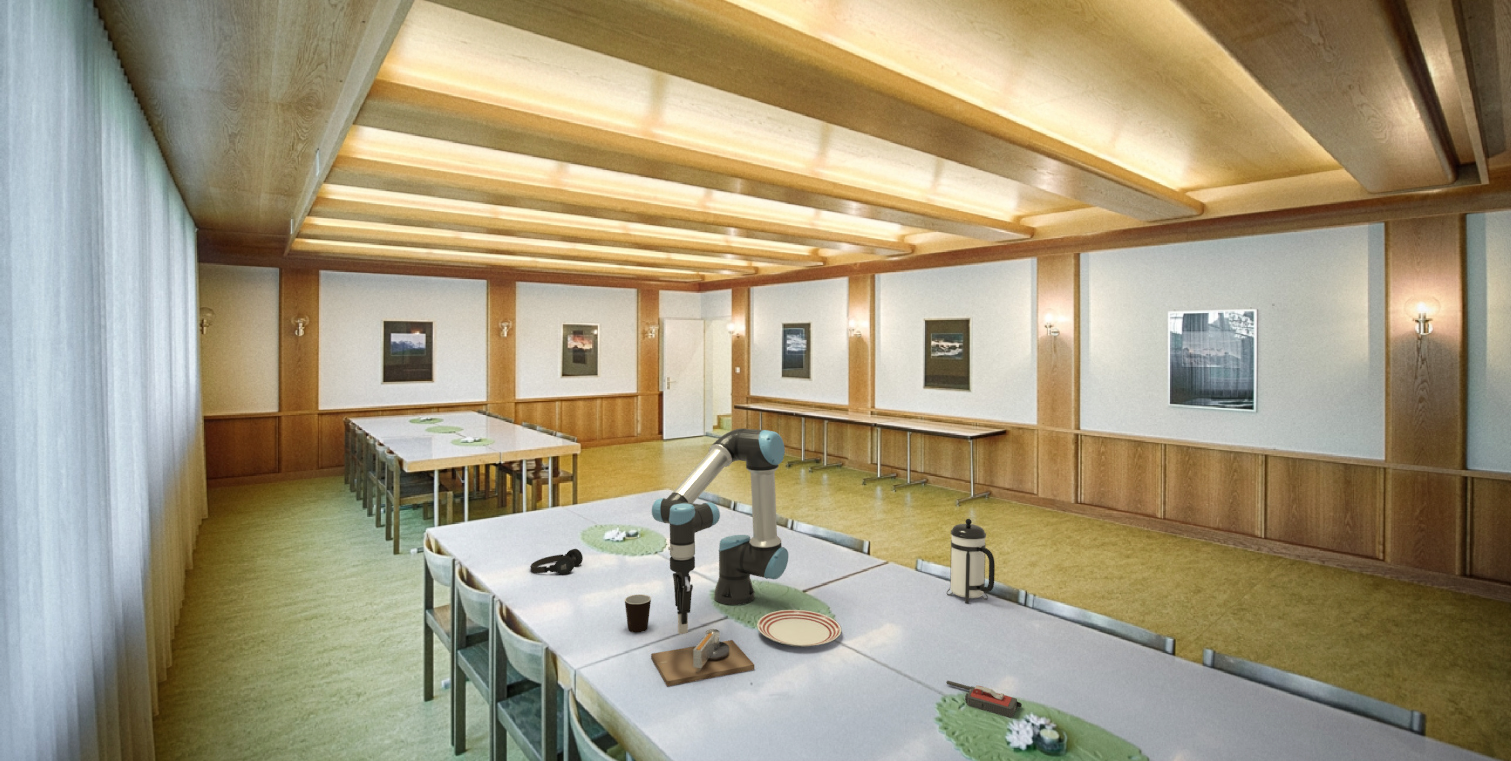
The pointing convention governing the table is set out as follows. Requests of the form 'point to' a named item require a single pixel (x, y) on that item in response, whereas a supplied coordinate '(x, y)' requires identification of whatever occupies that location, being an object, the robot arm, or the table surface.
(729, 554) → the robot arm
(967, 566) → the coffee press
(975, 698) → the walkie-talkie
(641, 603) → the coffee mug
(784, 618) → the dinner plate
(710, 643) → the lever handle
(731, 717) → the table surface
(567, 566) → the headphones
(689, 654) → the board
